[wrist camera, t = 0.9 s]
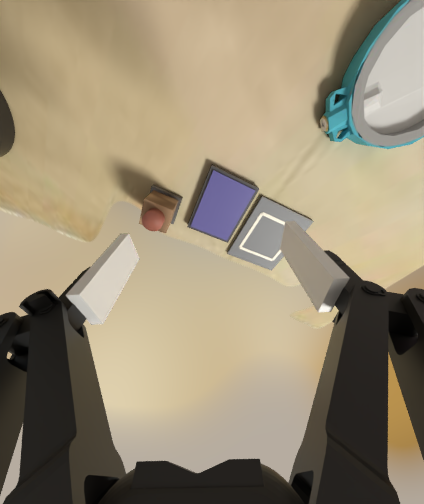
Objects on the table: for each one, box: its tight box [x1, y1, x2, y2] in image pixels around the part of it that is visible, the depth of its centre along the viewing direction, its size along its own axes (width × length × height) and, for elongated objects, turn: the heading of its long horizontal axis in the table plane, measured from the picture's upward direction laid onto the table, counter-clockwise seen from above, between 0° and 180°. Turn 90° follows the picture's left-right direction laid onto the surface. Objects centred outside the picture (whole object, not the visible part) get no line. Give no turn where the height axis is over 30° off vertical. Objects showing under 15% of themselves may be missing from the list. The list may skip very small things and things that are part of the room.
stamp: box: [139, 185, 183, 233], centre depth 29 cm, size 6×6×8 cm
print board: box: [227, 196, 314, 270], centre depth 36 cm, size 12×14×1 cm
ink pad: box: [187, 165, 259, 243], centre depth 31 cm, size 9×12×2 cm
